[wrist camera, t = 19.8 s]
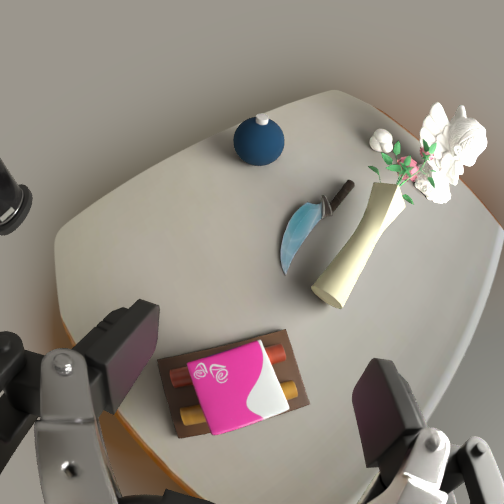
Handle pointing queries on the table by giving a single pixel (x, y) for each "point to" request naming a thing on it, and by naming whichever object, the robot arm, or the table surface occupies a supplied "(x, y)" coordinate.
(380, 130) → the microfossil shell
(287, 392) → the rod rack
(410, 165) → the flower vase
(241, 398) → the supplement box
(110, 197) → the table surface
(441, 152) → the cherub figurine
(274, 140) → the christmas ornament
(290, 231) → the knife
